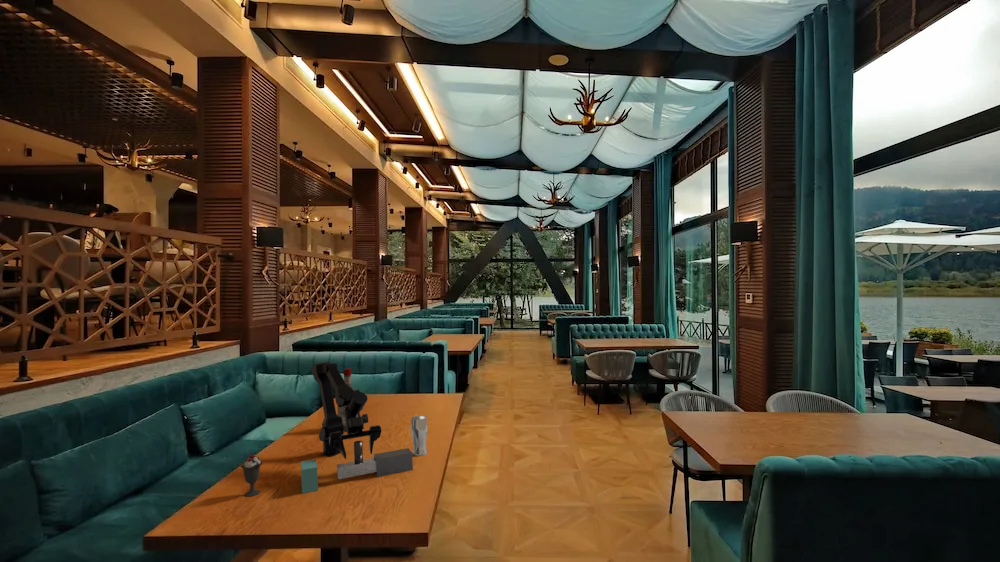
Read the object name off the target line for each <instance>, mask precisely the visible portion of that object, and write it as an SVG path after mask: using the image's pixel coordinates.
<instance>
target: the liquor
mask: <svg viewBox="0 0 1000 562" xmlns="http://www.w3.org/2000/svg"><path fill="white" fill-rule="evenodd" d="M343 380H344V381H345V383H346V385H347V386H349V387H351V388H352V389H353V390H355V389H354V388H353V386H352V385H353V384H352V368H343ZM336 406H337V409H336V410H337V411H336V412H337V415H338V416H339V417H340V416H341V418H342V423H343V425H344V432H347V428H346V421H345V416H344V409H345V408H346V407H347V406H345V407H339V406H338V405H337V404H336Z"/></svg>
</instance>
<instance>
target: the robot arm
mask: <svg viewBox="0 0 1000 562" xmlns="http://www.w3.org/2000/svg"><path fill="white" fill-rule="evenodd" d="M310 370H311V374H312V376H313V379H314V380H315V382H316V383H317V384H318V385H319V386H318V387H319V392H320V397H321V402H322V409H323V410H322V411H323V415H324V417H323V421H322V423H321V430H320V432H319V434H318V439H319V441H320V442H322V444H323V446H322V448H323V449H322V450H323V452H321V453H320V455H322V456H327V457H333V456H336V455H338V454H341V455H342V456H343V458H344V460H346V459H347V452H346V448H345V445H344V440H350V439H351V440H352V439H355V438H356V439H357V438H363V437H368V438H369V439H368V445H369V446H368V447H369V453H370V455H372V454H373V449H374V444H375V441H377V440H378V439H379V438H380V437H381V435H382V426H381V425H379V424H377V425H370V426H369V430H364V428H365V426H364V424H367V423H369V416H368V413H363V414H362V415H361V412H362V410H363V409H364V407H365V405H366V403H367V401H368V396H367V394H365V393H364V392H362V391H361V390H360V389H354V388H353V387H352V388H353V389H354V390H353V389H352V388H351V387H349V386H347V385H346V383H345V381H344V377H343V376H342V374H341V373H340V370H339V369H338V364H337V363H336V362H330V361H326V362H325V361H324V362H318V363H317V362H316V363H314V364H313V366H311V369H310ZM332 388H333V389H334V391H335V397H334V393H333V389H332ZM334 399H335V400H334ZM335 404H336V405H335ZM337 405H338V406H339V407H345V406H347V407H346V408H345V409H344V416H345V421H346V428H347V431H346V433H345V434H344V432H345V431H344V425H343V423H342V418H341V416H340V417H339V416H338V413H337V411H336V410H337V409H336V406H337Z"/></svg>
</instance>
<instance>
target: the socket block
mask: <svg viewBox="0 0 1000 562" xmlns="http://www.w3.org/2000/svg"><path fill="white" fill-rule="evenodd" d="M300 475H301V477H300V478H301V480H300V481H301V482H300V483H301V493H302V494H306V493H307V494H308V493H311V492H316V491H317V492H318V491H319V486H318V485H319V484H318V483H319V481H318V463H317V459H316V458H314V459H308V460H302V461H300Z"/></svg>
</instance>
